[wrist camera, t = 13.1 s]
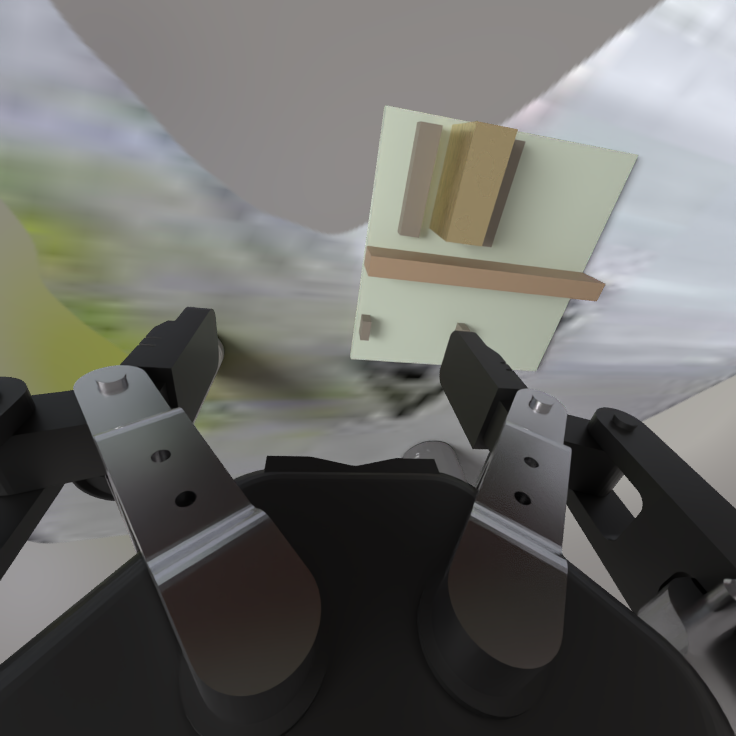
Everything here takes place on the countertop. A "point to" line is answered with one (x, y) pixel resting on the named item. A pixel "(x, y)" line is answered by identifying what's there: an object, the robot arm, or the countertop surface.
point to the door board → (479, 263)
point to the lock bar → (471, 181)
